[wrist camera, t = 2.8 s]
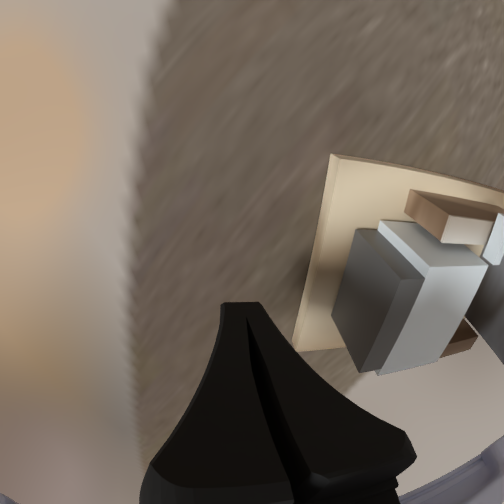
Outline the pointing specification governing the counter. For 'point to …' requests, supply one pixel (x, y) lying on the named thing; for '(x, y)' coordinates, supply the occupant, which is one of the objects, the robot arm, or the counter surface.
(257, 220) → the counter surface
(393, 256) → the light grey block
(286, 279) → the counter surface
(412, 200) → the stand
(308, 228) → the counter surface
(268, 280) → the counter surface
